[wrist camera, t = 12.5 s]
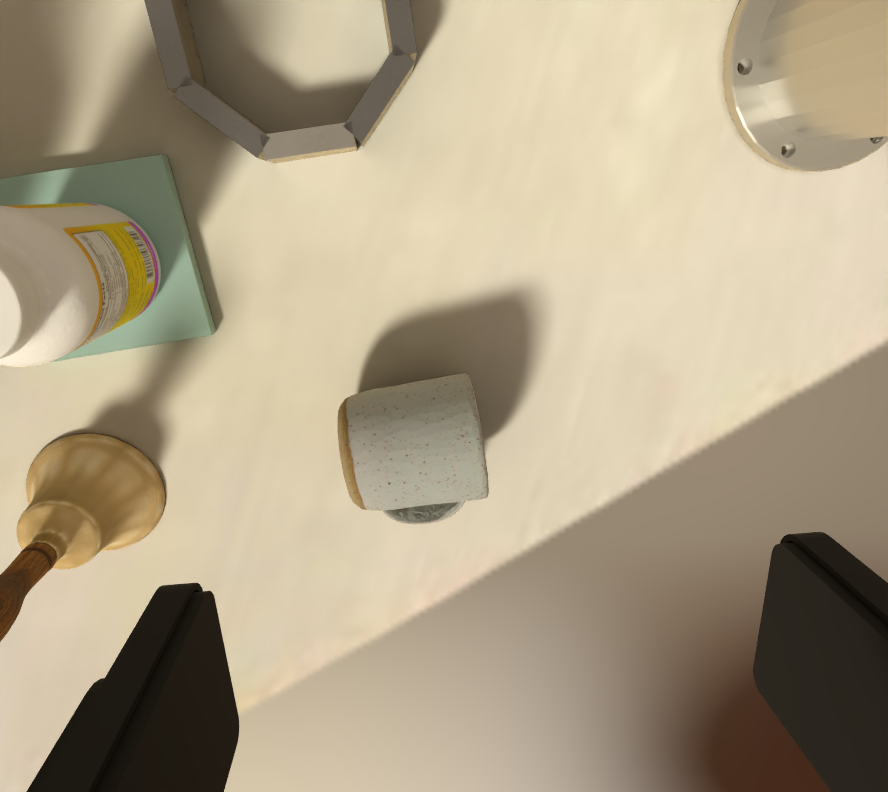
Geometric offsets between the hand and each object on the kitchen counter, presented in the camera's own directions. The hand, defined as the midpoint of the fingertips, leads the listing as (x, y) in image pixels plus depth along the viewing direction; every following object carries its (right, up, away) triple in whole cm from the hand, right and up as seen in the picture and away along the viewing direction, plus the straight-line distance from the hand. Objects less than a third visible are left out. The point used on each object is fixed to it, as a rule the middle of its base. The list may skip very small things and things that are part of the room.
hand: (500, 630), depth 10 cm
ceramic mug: (-3, +1, +30) cm, 30 cm away
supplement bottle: (-20, +11, +24) cm, 33 cm away
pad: (-20, +12, +25) cm, 34 cm away
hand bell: (-23, -2, +29) cm, 37 cm away
